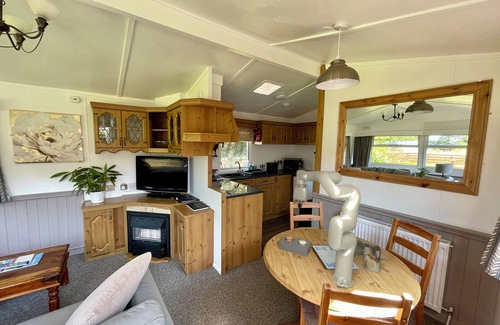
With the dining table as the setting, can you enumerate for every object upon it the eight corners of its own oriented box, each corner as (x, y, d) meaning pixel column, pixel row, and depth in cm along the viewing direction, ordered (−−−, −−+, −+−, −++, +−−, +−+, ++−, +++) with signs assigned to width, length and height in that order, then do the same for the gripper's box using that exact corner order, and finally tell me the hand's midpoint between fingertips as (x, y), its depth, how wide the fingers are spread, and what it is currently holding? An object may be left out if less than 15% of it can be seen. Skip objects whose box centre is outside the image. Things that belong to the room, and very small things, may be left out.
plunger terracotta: (290, 246, 164) (291, 239, 164) (284, 244, 167) (284, 237, 166) (293, 243, 169) (293, 236, 169) (286, 241, 172) (287, 234, 171)
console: (306, 256, 154) (307, 249, 154) (279, 248, 165) (279, 241, 164) (311, 248, 166) (311, 241, 166) (285, 241, 177) (285, 234, 176)
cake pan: (358, 242, 181) (358, 237, 181) (372, 257, 157) (372, 252, 156) (329, 239, 183) (329, 235, 183) (338, 255, 159) (339, 249, 158)
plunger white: (304, 251, 159) (305, 243, 158) (297, 249, 162) (298, 241, 161) (306, 248, 164) (307, 240, 163) (299, 246, 167) (300, 239, 166)
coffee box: (377, 267, 144) (379, 245, 142) (379, 272, 138) (381, 250, 136) (362, 264, 147) (364, 242, 146) (363, 269, 141) (365, 246, 140)
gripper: (311, 186, 165) (310, 208, 167) (293, 183, 172) (292, 205, 174) (309, 187, 158) (307, 211, 160) (290, 185, 166) (289, 207, 168)
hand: (299, 208), depth 167 cm, fingers closed
